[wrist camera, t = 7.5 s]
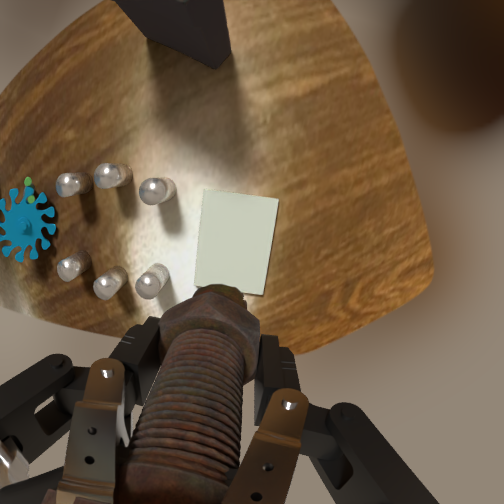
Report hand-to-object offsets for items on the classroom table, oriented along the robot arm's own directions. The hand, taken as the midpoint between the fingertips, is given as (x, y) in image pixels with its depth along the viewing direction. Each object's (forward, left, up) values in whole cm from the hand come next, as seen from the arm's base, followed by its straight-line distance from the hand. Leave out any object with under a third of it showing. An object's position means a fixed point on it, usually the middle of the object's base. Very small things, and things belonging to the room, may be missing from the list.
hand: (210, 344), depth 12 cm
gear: (-28, 0, -20) cm, 34 cm away
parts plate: (0, 0, -20) cm, 20 cm away
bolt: (0, 0, -4) cm, 4 cm away
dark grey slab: (-9, +23, -20) cm, 32 cm away
